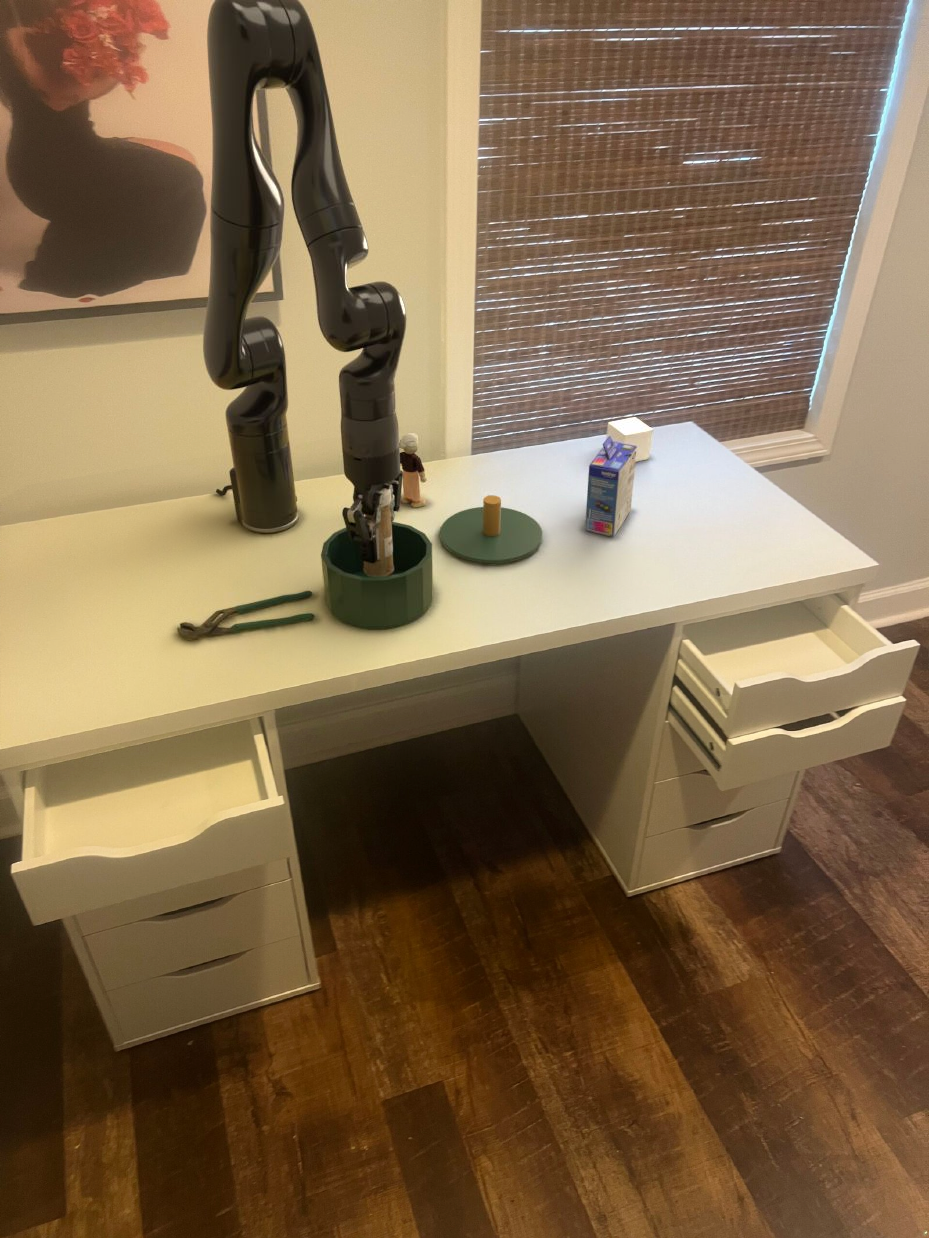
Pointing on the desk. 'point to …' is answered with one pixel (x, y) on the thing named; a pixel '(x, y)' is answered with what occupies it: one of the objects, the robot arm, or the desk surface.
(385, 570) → the sprinkles bottle
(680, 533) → the desk surface
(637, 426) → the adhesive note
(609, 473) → the ink cartridge box
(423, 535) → the tin
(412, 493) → the grandmother figurine
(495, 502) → the tin lid
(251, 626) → the pliers
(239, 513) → the robot arm
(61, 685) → the desk surface
